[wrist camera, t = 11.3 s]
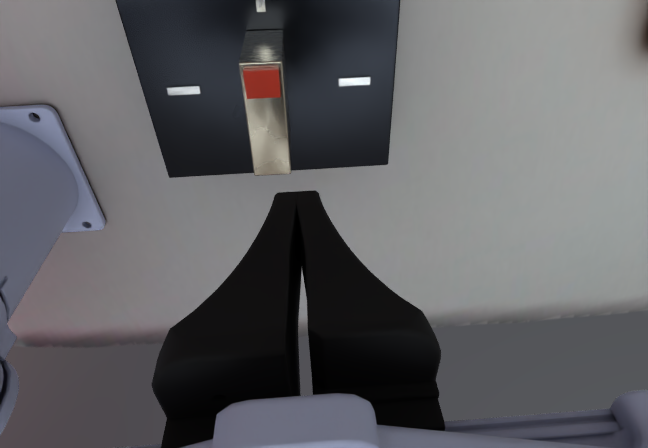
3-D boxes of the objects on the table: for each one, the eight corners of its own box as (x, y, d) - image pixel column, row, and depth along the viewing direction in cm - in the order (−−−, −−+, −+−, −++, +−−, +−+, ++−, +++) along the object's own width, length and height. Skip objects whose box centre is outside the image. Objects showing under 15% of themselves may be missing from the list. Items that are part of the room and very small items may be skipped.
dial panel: (179, 147, 24) (168, 180, 22) (129, -41, 19) (105, -25, 16) (378, 136, 25) (388, 166, 22) (389, -52, 19) (404, -39, 16)
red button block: (290, 132, 21) (291, 177, 18) (258, 133, 21) (254, 179, 18) (282, 29, 18) (282, 63, 15) (245, 30, 18) (237, 65, 15)
